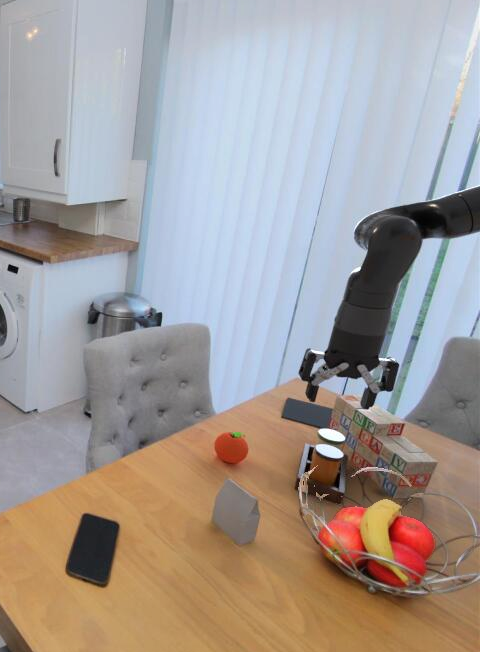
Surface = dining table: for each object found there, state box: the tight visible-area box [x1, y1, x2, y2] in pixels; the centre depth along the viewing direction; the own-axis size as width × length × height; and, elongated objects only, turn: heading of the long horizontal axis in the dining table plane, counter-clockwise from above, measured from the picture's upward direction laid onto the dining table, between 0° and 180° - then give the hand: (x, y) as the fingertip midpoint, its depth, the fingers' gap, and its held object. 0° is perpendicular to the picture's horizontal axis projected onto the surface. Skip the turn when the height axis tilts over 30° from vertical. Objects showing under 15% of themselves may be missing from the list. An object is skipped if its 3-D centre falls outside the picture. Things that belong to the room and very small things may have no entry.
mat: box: [281, 397, 333, 429], centre depth 127 cm, size 14×12×1 cm
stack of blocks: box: [328, 394, 439, 499], centre depth 106 cm, size 21×6×12 cm, turn 178°
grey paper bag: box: [210, 477, 261, 547], centre depth 90 cm, size 4×7×10 cm, turn 19°
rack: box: [293, 442, 349, 505], centre depth 104 cm, size 8×15×3 cm, turn 142°
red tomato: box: [213, 431, 249, 464], centre depth 111 cm, size 8×7×7 cm
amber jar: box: [309, 444, 344, 487], centre depth 101 cm, size 5×5×9 cm
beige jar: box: [310, 428, 345, 461], centre depth 106 cm, size 5×5×9 cm
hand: (337, 403), depth 92 cm, fingers open, 8 cm apart
